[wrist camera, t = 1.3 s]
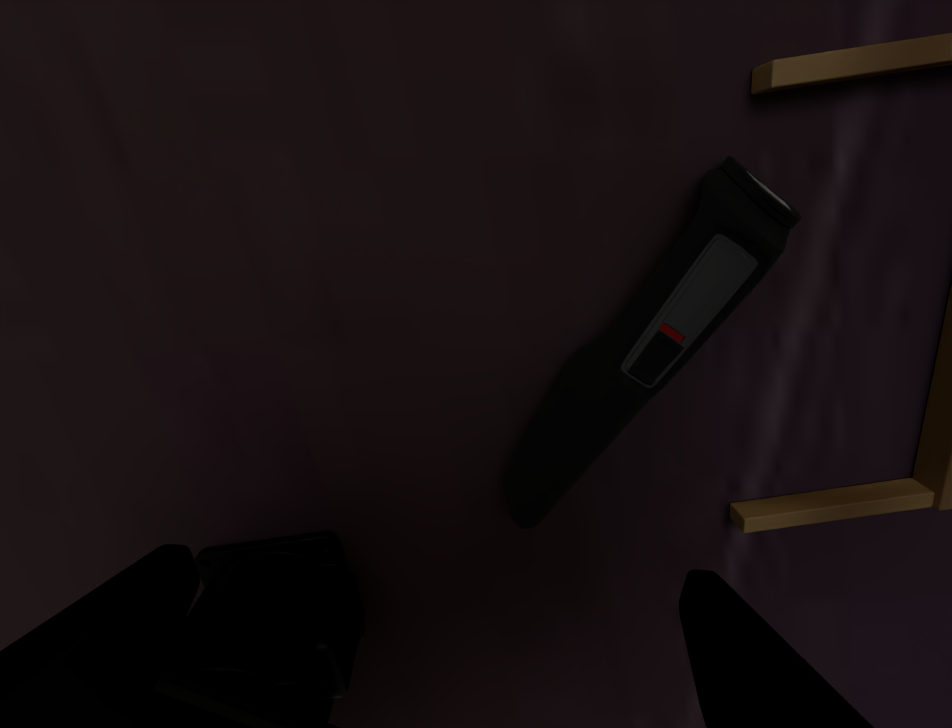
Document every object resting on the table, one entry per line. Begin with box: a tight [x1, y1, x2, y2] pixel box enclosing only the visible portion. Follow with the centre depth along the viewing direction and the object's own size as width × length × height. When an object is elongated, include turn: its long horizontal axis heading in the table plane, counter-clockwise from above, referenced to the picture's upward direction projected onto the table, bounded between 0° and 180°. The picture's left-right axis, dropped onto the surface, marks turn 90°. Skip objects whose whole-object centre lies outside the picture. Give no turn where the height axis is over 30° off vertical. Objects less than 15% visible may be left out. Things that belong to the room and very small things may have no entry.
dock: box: [730, 33, 952, 533], centre depth 19 cm, size 10×19×2 cm, turn 8°
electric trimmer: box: [503, 156, 801, 529], centre depth 18 cm, size 4×16×3 cm, turn 146°
